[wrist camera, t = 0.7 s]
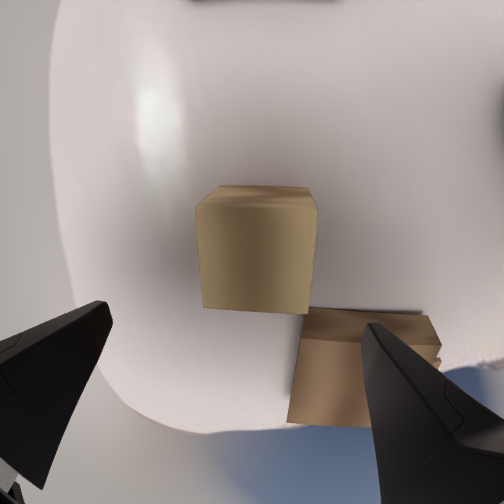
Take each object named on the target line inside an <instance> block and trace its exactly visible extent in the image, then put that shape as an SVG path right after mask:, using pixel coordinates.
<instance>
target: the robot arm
mask: <svg viewBox="0 0 504 504" xmlns="http://www.w3.org/2000/svg"><path fill="white" fill-rule="evenodd" d="M112 325H113V320H112V316H111V313H110V309H109V306H108V304H107V302H105V301H99V300H97V301H94V302H92V303H89V304H87V305H85V306H82V307H80V308H77V309H75V310H73V311H70V312H68V313H65V314H63V315H61V316H58V317H57V318H54V319H51V320H49V321H47V322H44V323H42V324H40V325H37V326H35V327H33V328H31V329H28V330H26V331H24V332H21V333H19V334H17V335H14V336H12V337H9V338H7V339H4V340H2V341H0V504H25V503H24V500H23V496H22V492H21V489H20V485H19V484H18V483H17V482H16V481H15V479H16V477H17V475H18V474H20V475H21V476H22V477H24V478H25V479H26V480H28V481H29V482H31V483H32V484H33V485H35V486H36V487H38V488H39V489H41V490H42V489H43V487H44V485H45V482H46V479H47V476H48V473H49V471H50V468H51V465H52V462H53V460H54V457H55V455H56V452H57V449H58V446H59V444H60V442H61V439H62V437H63V434H64V432H65V430H66V427H67V425H68V423H69V420H70V418H71V416H72V414H73V411H74V409H75V407H76V405H77V402H78V401H79V398H80V396H81V394H82V392H83V390H84V388H85V386H86V384H87V382H88V380H89V378H90V376H91V374H92V372H93V370H94V368H95V366H96V364H97V362H98V360H99V357H100V355H101V353H102V350H103V348H104V345H105V343H106V340H107V338H108V335H109V333H110V331H111V328H112ZM361 357H362V368H363V380H364V389H365V394H366V399H367V405H368V410H369V415H370V421H371V427H372V433H373V439H374V445H375V452H376V460H377V467H378V474H379V484H380V493H381V498H382V499H381V504H504V419H502V418H501V417H500V416H498V415H497V414H495V413H494V412H492V411H491V410H489V409H488V408H487V407H485V406H484V405H482V404H481V403H479V402H478V401H477V400H475V399H474V398H472V397H471V396H470V395H468V394H467V393H466V392H464V391H463V390H462V389H461V388H459V387H458V386H457V385H456V384H454V383H453V382H452V381H451V380H450V379H448V378H447V377H446V376H445V375H444V374H442V373H441V372H440V371H439V370H438V369H436V368H435V367H434V366H433V365H431V364H430V363H429V362H428V361H427V360H425V359H424V358H423V357H422V356H421V355H419V354H418V353H417V352H416V351H414V350H413V349H412V348H411V347H409V346H408V345H407V344H406V343H405V342H403V341H402V340H401V339H400V338H398V337H397V336H396V335H395V334H393V333H392V332H391V331H390V330H388V329H387V328H386V327H385V326H383V325H382V324H381V323H379V322H368V323H367V324H366V326H365V330H364V333H363V337H362V340H361Z"/></svg>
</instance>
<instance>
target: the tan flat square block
mask: <svg viewBox="0 0 504 504" xmlns="http://www.w3.org/2000/svg"><path fill="white" fill-rule="evenodd" d="M368 322H379V323H381V324H382V325H383V326H385V327H386V328H387V329H388V330H390V331H391V332H392V333H393V334H395V335H396V336H397V337H398V338H400V339H401V340H402V341H403V342H405V343H406V344H407V345H408V346H409V347H411V348H412V349H413V350H414V351H416V352H417V353H418V354H419V355H421V356H422V357H423V358H424V359H425V360H427V361H428V362H429V363H430V364H431V365H432V364H433V362H434V360H435V358H436V356H437V354H438V352H439V350H440V348H441V346H442V344H441V342H440V340H439V338H438V336H437V334H436V331H435V329H434V327H433V325H432V323H431V321H430V319H429V317H428V316H424V315H404V314H387V313H372V312H358V311H346V310H334V309H323V308H313V307H309V308H308V314H304V316H303V323H302V330H301V337H300V343H299V349H298V356H297V362H296V368H295V373H294V379H293V384H292V390H291V396H290V403H289V409H288V415H287V423H297V424H307V425H320V426H340V427H341V426H342V427H371V421H370V415H369V410H368V405H367V399H366V394H365V389H364V380H363V368H362V357H361V340H362V337H363V333H364V330H365V326H366V324H367V323H368Z"/></svg>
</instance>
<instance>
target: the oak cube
mask: <svg viewBox="0 0 504 504" xmlns="http://www.w3.org/2000/svg"><path fill="white" fill-rule="evenodd" d="M195 212H196V228H197V242H198V255H199V267H200V278H201V288H202V298H203V308H210V309H222V310H236V311H251V312H268V313H289V314H308V308H309V300H310V291H311V282H312V273H313V263H314V252H315V241H316V229H317V215H318V209H317V207H316V204H315V202H314V200H313V198H312V195H311V193H310V191H309V189H308V188H301V187H276V186H219V187H218V188H217V189H216V190H214V191H213V192H212V193H211V194H210V195H208V196H207V197H206V198H205V199H203V200H202V201H201V202H200V203H199V204H197V205H196V206H195Z"/></svg>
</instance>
